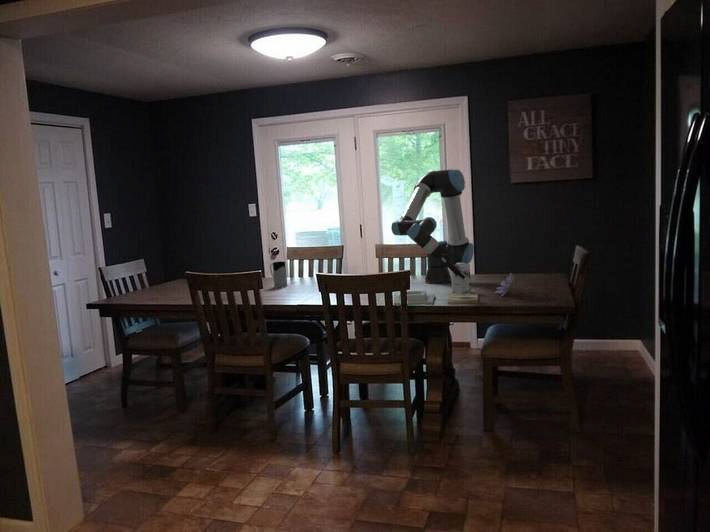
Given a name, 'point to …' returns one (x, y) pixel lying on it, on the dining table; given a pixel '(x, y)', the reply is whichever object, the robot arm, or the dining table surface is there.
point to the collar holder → (416, 298)
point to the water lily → (505, 286)
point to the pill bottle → (453, 280)
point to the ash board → (462, 299)
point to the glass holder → (279, 274)
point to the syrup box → (459, 284)
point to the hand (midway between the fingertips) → (469, 281)
